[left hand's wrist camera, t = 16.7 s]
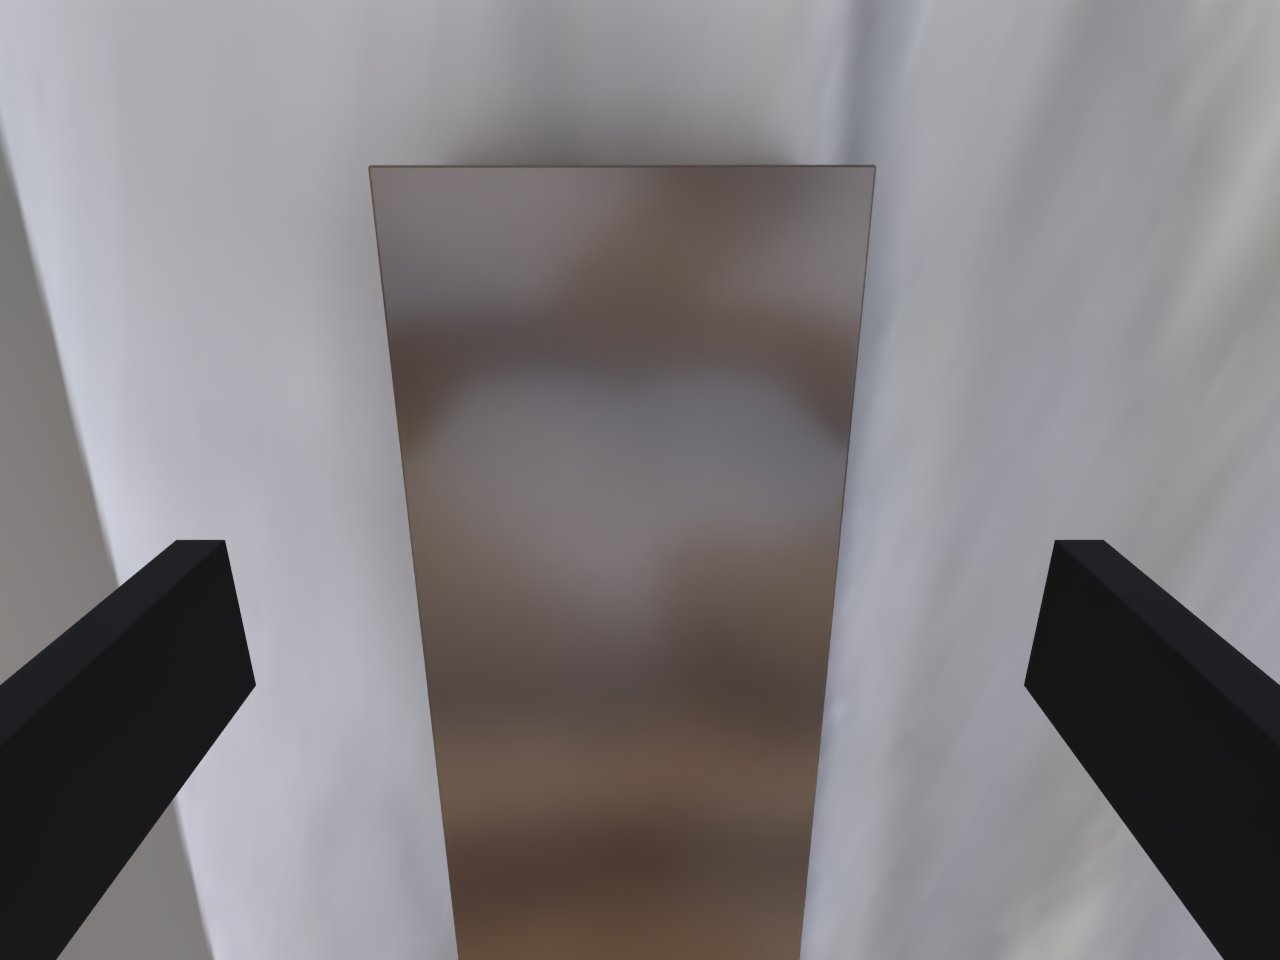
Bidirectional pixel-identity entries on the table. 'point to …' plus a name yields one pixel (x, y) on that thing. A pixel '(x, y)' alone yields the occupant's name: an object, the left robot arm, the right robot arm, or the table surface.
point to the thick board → (625, 536)
